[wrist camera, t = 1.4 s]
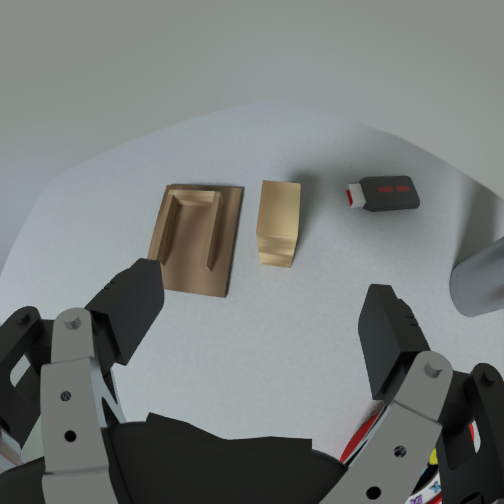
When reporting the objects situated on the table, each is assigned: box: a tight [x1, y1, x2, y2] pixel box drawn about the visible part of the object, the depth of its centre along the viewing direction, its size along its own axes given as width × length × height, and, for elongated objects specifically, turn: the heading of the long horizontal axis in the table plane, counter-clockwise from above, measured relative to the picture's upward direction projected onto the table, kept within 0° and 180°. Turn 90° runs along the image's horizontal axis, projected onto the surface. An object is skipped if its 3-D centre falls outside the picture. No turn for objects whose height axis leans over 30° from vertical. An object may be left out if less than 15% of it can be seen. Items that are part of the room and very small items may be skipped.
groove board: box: [147, 185, 242, 298], centre depth 37 cm, size 12×16×4 cm
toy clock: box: [340, 413, 474, 504], centre depth 23 cm, size 20×6×20 cm
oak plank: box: [256, 180, 301, 267], centre depth 33 cm, size 4×6×11 cm, turn 173°
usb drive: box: [346, 176, 420, 212], centre depth 38 cm, size 5×12×3 cm, turn 96°
